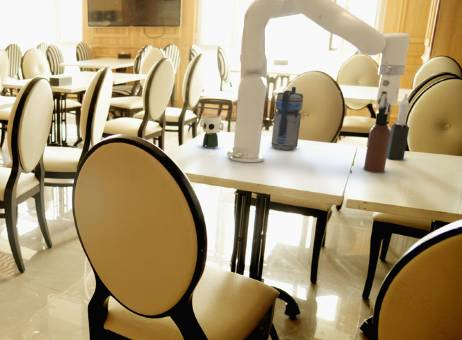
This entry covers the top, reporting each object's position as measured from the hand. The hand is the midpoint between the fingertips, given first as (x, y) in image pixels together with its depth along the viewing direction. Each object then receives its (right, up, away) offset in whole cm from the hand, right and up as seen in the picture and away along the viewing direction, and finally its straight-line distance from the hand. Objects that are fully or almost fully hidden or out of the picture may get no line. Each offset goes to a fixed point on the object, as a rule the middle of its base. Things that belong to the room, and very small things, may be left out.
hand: (382, 123), depth 178 cm
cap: (0, +1, 0) cm, 1 cm away
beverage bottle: (-20, -7, +36) cm, 42 cm away
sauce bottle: (0, -16, +4) cm, 17 cm away
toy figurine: (-51, -7, +36) cm, 63 cm away
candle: (+17, -12, +22) cm, 30 cm away
